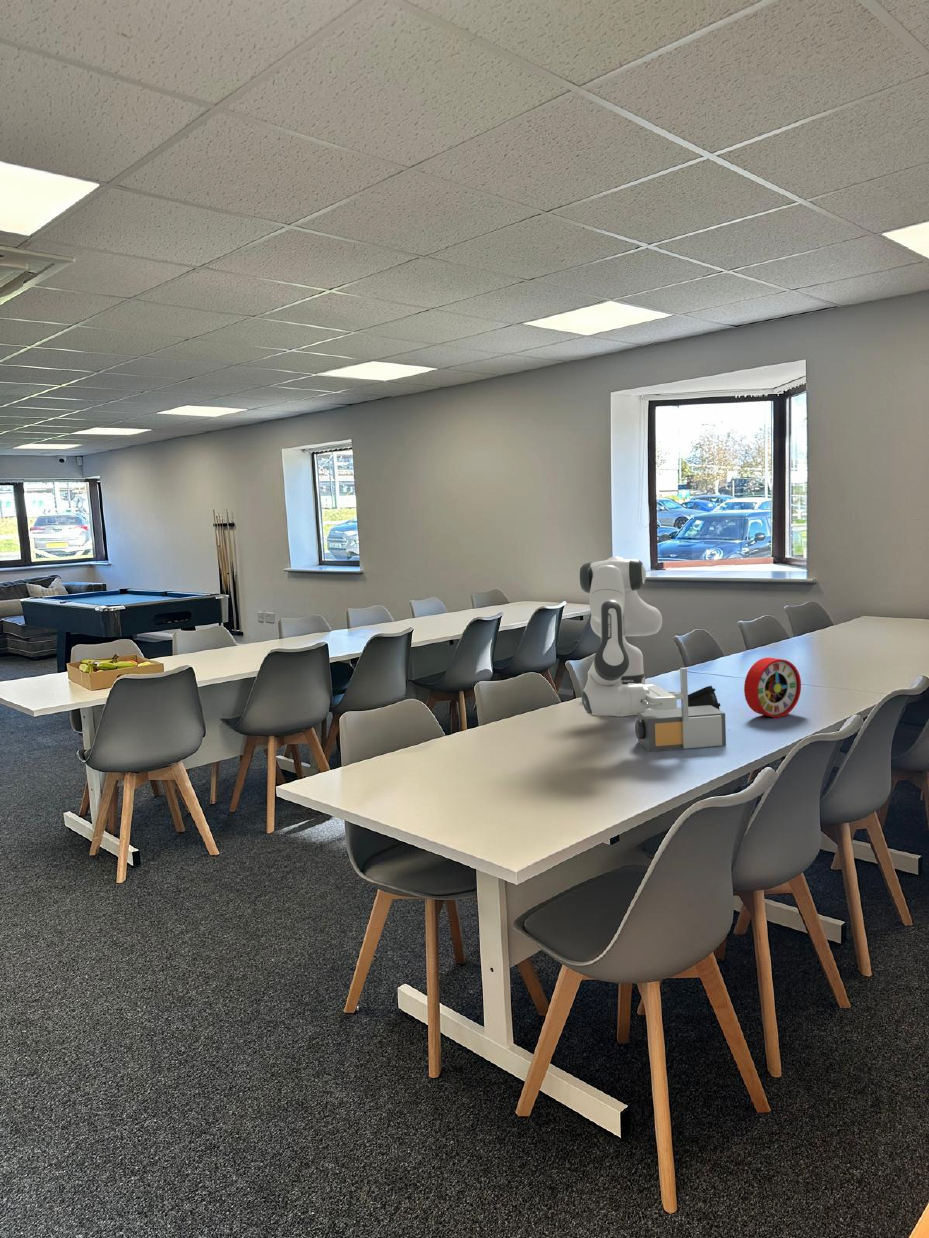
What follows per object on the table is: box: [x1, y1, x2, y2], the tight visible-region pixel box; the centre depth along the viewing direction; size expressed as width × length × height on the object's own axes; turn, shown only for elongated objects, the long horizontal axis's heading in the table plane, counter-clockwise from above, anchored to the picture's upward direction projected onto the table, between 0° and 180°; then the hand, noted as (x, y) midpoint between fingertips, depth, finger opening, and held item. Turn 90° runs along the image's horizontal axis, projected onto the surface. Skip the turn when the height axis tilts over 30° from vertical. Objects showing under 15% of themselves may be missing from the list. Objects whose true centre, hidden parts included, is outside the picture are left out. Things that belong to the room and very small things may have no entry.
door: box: [679, 667, 723, 749], centre depth 256 cm, size 12×2×25 cm, turn 95°
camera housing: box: [634, 705, 727, 752], centre depth 264 cm, size 26×12×10 cm, turn 95°
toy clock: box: [743, 657, 802, 718], centre depth 292 cm, size 20×6×20 cm, turn 114°
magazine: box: [688, 685, 722, 711], centre depth 278 cm, size 4×13×15 cm, turn 37°
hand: (681, 695), depth 256 cm, fingers closed, pressing on door
